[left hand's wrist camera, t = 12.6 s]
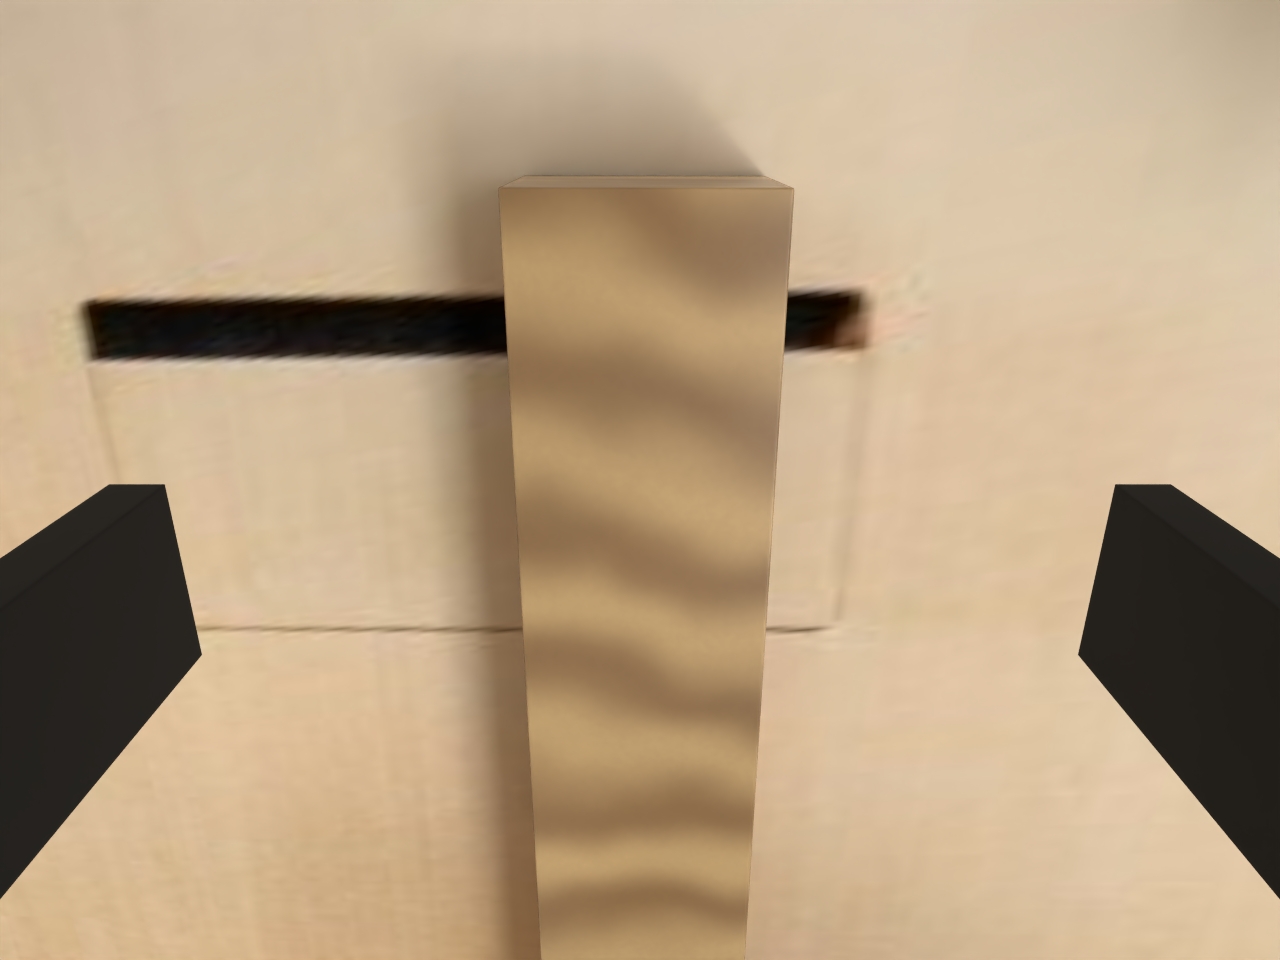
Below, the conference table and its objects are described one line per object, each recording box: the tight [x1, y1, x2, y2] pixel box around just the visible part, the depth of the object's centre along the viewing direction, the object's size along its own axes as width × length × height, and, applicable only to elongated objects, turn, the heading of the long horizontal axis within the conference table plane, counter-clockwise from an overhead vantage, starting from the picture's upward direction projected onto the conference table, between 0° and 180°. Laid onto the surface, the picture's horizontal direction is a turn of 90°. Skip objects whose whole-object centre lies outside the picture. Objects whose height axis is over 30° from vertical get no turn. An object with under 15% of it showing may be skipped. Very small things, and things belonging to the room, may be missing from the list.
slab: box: [498, 176, 794, 960], centre depth 45 cm, size 73×9×7 cm, turn 0°
